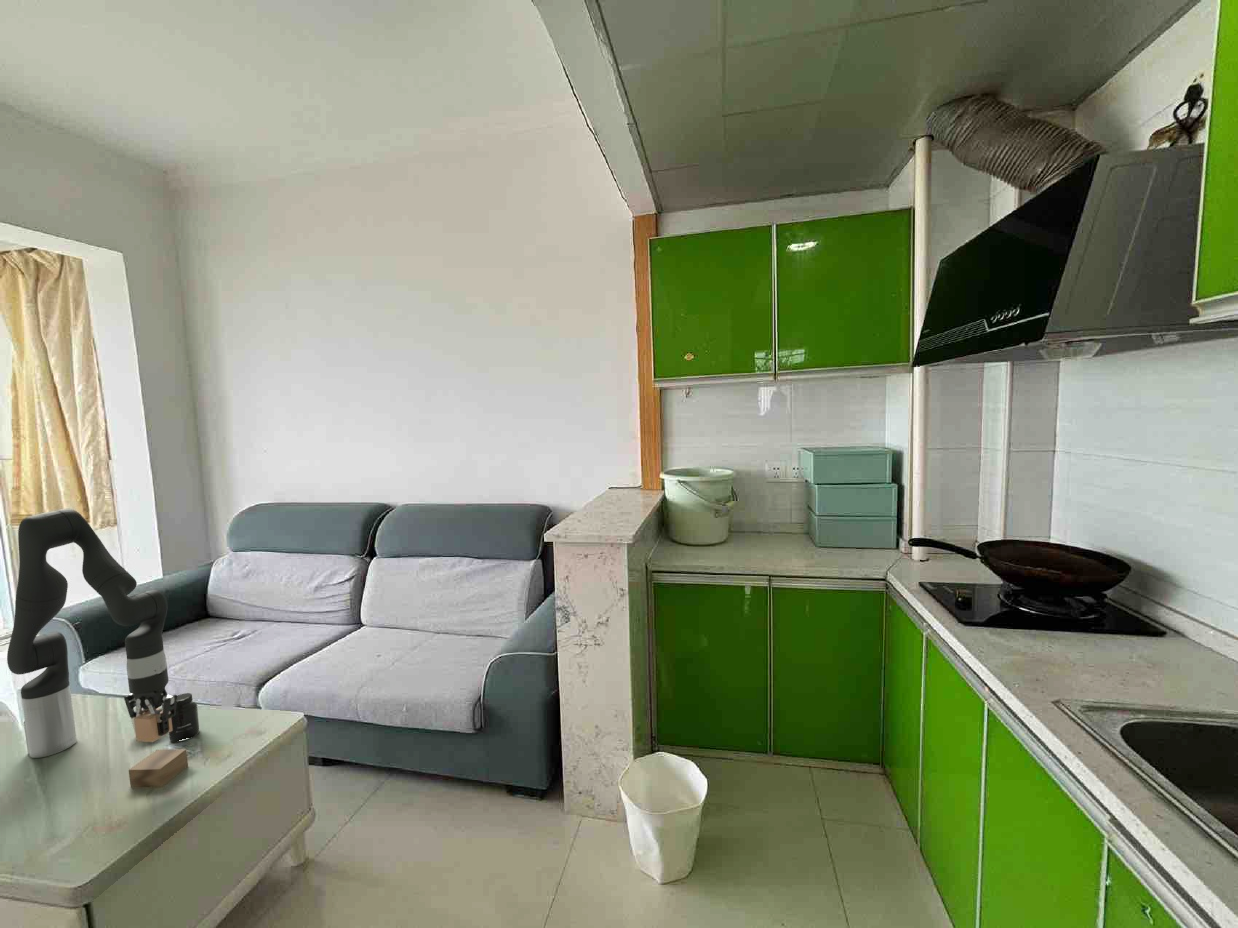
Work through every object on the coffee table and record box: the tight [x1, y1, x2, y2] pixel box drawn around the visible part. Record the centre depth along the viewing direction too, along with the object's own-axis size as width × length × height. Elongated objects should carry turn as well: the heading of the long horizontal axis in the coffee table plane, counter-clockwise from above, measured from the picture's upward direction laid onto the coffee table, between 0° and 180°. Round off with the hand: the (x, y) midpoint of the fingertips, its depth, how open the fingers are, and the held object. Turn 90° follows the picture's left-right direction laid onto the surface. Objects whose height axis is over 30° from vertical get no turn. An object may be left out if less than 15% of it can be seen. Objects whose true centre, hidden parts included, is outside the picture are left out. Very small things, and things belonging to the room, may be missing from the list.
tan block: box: [134, 708, 173, 743], centre depth 135 cm, size 5×5×6 cm
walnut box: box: [128, 748, 189, 789], centre depth 136 cm, size 8×8×5 cm
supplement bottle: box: [168, 692, 200, 743], centre depth 153 cm, size 7×7×12 cm
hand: (154, 732), depth 135 cm, fingers closed on tan block, 5 cm apart
